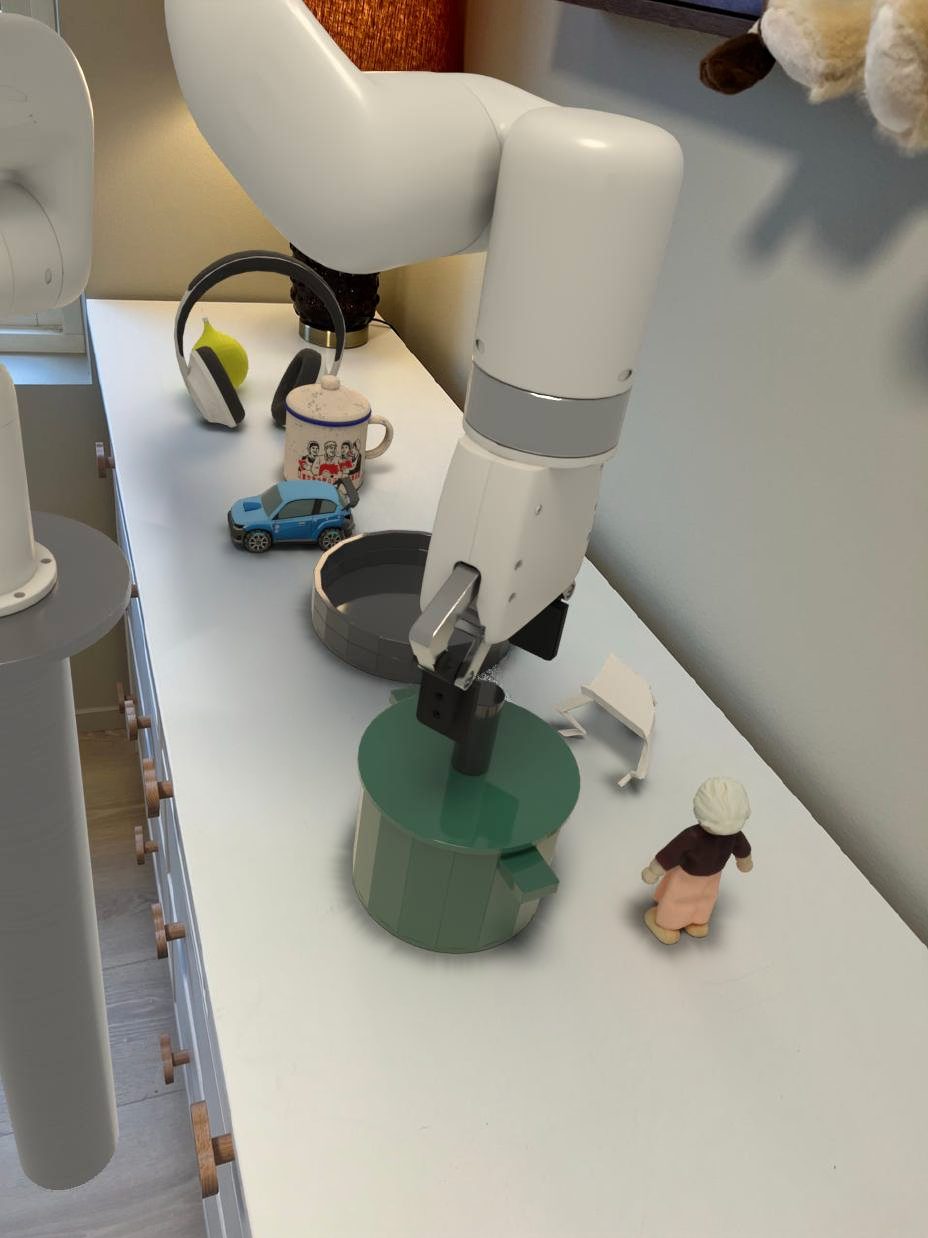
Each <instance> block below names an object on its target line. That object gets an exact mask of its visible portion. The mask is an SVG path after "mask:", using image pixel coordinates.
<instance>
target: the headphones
mask: <svg viewBox="0 0 928 1238" xmlns="http://www.w3.org/2000/svg"><path fill="white" fill-rule="evenodd" d="M253 272H262V273H263V272H264V273H274V274H279V275H282V276H286V277H290V278H291V279H293V280H295V281H298V282H299V283H302V284H303V285H304V286H305V287H307V288H309V289H310V290H311V291H312V292H313V293H314V294H315V295H316V296H317V297H318V298H319V299H320V300H321V301H322V303H323V304H324V306H325V307H326V309H327V311H328V312H329V314H330V317H331V320H332V323H333V326H334V331H335V332H334V333H335V340H336V342H335V354H334V360H333V362H332V366H331V368H330V371H328V368H327V359H326V357H325V356H324V355H323V354H322V353H320V352H318V351H317V350H315V349H314V348H308V347H305V348H302V349H300V350H299V351H298V352H297V353H296V354H295V355H294V357H293V358H292V360H291V361H290V363H288V366H287V368H286V370H285V371H284V373H283V375H282V377H281V378H280V381H279V383H278V385H277V387H276V390H275V393H274V395H273V397H272V402H271V404H270V413H271V416H272V419H274V420H275V422H276V423H278V424H279V425H280V426H282V427H284V428H286V413H287V410H286V408H285V400H286V398H287V396H288V394H289V393H290V392H291V391H292V390H294V389H295V388H298V387H301V386H304V385H311V384H315V383H319V382H321V378H322V377H323V376H325V375H333V376H336V377H337V376H338V373H339V370H340V366H341V363H342V361H343V357H344V352H345V344H346V325H345V319H344V316H343V313H342V309H341V308H340V305H339V303H338V301H337V299H336V298H337V297H336V294H335V292H334V291H333V289H332V288H331V287H330V286H329V284H328V283H327V282H326V280H324V278H323V277H322V276H320V275H319V273H317V272H316V271H315V270H314V269H313V268H311V267H310V266H309V265H308V264H306V263H305V262H303V261H301V260H299V259H297V258H295V257H293V256H291V255H288V254H285V253H283V252H280V251H272V250H266V249H249V250H241V251H238V252H237V251H236V252H233V253H230V254H227V255H225V256H222V257H220V258H219V259H217V260H215V261H213V262H211V264H209V265H208V266H207V267H204V268H203V269H202V270H201V271H199V273H198V274H197V275H196V276H194V278H193V279H192V280H191V281H190V282H189V284H188V287H187V288H186V290H185V292H184V293H183V296H182V297H181V300H180V302H179V304H178V306H177V310H176V314H175V318H174V328H173V329H174V330H173V341H174V349H175V357H176V361H177V364H178V367H179V372H180V374H181V377H182V379H183V382H184V385H185V387H186V389H187V391H188V393H189V394H190V396H191V398H192V400H193V402H194V404H195V405H196V407H197V408H198V410H199V412H200V413H201V414H202V415H203V417H204V418H205V420H207V421H208V422H209V423H217V424H221V425H225V426H227V427H229V428H235V427H237V426H238V425H240V423H242V422H243V420H244V419H245V417H246V411H245V408H244V406H243V404H242V401H241V400H240V397H239V395H238V393H237V392H236V391H237V390H236V389H234V387H233V385H232V382H231V380H230V378H229V376H228V374H227V372H226V371H225V369H224V367H223V365H222V364H221V362H220V360H219V358H218V357H217V355H216V353H215V352H214V351H213V350H212V348H211V347H208V346H202V347H199V348H197V349H195V350H193V351H192V350H191V351H192V352H191V351H190V352H189V359H188V364H187V361H186V358H185V353H184V334H185V329H186V323H187V321H188V319H189V317H190V313H191V312H192V310H193V308H194V306H195V305H196V303H197V302H198V301H199V300H200V299H201V298H202V297H203V296H205V294H206V293H207V292H208V291H209V290H211V289H212V288H213V287H214V286H215V285H217V284H219V283H221V282H223V281H225V280H227V279H228V278H230V277H234V276H238V275H241V274H245V273H253Z"/></svg>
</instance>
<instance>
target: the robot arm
mask: <svg viewBox="0 0 928 1238" xmlns="http://www.w3.org/2000/svg"><path fill="white" fill-rule="evenodd" d="M163 7H164V18H165V28H166V33H167V41H168V43H169V49H170V55H171V58H172V62H173V67H174V71H175V74H176V78H177V82H178V85H179V88H180V92H181V93H182V94H181V95H182V97H183V99H184V100H183V101H184V102H185V105H186V107H187V110H188V112H189V114H190V115H191V118H192V119H193V121H194V124H195V126H196V128H197V129H198V131H199V132H200V134H201V136H202V137H203V138H204V140H205V142H206V144H208V146H209V147H210V149H211V150H212V152H213V153H214V154H215V155H216V157H217V158H218V159H219V161H220V162H221V163H222V164H223V166H224V167H225V168H226V169H227V171H228V172H229V173H230V175H231V176H232V177H233V178H234V180H235V181H236V182H237V183H238V185H239V186H240V187H241V189H242V190H243V192H245V194H246V195H247V196H248V198H249V199H250V200H251V201H252V202H253V203H254V205H255V206H256V207H257V209H258V210H259V212H261V214H262V215H263V216H264V217H265V219H266V220H267V221H268V222H269V223H270V224H271V225H272V226H273V227H274V228H275V230H276V231H277V232H278V233H280V235H282V236H283V237H284V238H285V239H286V240H287V241H288V242H289V243H291V244H292V245H293V246H294V247H295V248H296V249H297V250H299V252H301V253H302V254H304V255H305V256H306V257H308V258H309V259H311V260H314V261H315V262H316V263H319V264H321V265H322V266H324V267H326V268H328V269H331V270H334V271H338V272H342V273H348V274H353V275H369V274H374V273H375V274H376V273H381V272H386V271H390V270H392V269H396V268H400V267H407V266H410V265H414V264H418V263H423V262H426V261H431V260H435V259H438V258H439V259H440V258H446V257H455V256H463V255H471V254H478V253H485V252H486V258H485V264H484V271H483V276H482V277H483V278H482V284H481V290H480V291H481V292H480V298H479V305H478V311H477V319H476V326H475V332H474V339H473V346H472V355H471V360H470V368H469V372H468V373H469V374H468V381H467V388H466V394H465V400H464V408H463V409H464V410H463V414H462V419H461V423H462V429H463V431H464V433H463V434H462V435H461V436H460V437H459V438H458V440H457V443H456V446H455V449H454V451H453V454H452V457H451V460H450V463H449V466H448V469H447V472H446V476H445V478H444V482H443V485H442V489H441V493H440V496H439V499H438V505H437V508H436V512H435V517H434V522H433V526H432V531H431V533H432V535H431V540H430V545H429V550H428V555H427V560H426V566H425V571H424V577H423V583H422V589H421V597H420V607H421V611H422V614H421V615H420V616H419V618H418V619H417V620H416V622H415V623H414V624H413V626H412V628H411V630H410V632H409V640H410V643H411V646H412V650H413V661H414V662H415V663H416V664H418V667H419V668H421V669H423V670H422V677H421V683H419V685H420V691H419V697H418V704H417V711H416V718H417V720H418V721H419V722H420V723H422V724H424V725H425V726H427V727H429V728H431V729H433V730H435V731H437V732H438V733H440V734H442V735H444V736H446V737H448V738H449V739H451V740H453V741H455V742H457V743H459V744H465V743H466V742H467V741H468V740H469V739H470V738H471V734H472V729H473V724H474V718H475V713H476V708H477V702H478V697H479V692H480V687H481V683H480V682H478V681H477V680H478V679H476V677H477V676H478V675H477V673H478V671H479V669H480V667H481V665H482V663H483V661H484V659H485V657H486V655H487V653H488V651H489V649H490V647H491V645H492V644H496V643H499V642H502V641H504V640H506V639H508V641H509V642H510V643H511V645H513V646H515V647H517V648H519V649H520V650H521V649H522V650H523V651H526V652H528V653H530V654H531V655H534V656H536V657H537V658H540V659H542V660H544V661H547V662H551V661H553V660H554V658H556V657H557V656H558V653H559V649H560V645H561V644H560V643H561V642H562V641H561V640H562V636H563V633H564V627H565V624H566V619H567V615H568V610H569V606H570V604H569V603H567V602H568V601H569V600H571V598H572V596H573V595H574V593H575V589H576V586H577V585H576V584H577V583H576V581H575V579H576V578H577V576H578V574H579V573H580V570H581V567H582V565H583V562H584V559H585V555H586V554H587V553H586V552H587V550H588V546H589V541H590V538H591V533H592V529H593V524H594V521H595V518H596V510H597V506H598V501H599V497H600V489H601V483H602V478H603V477H602V476H603V472H604V465H605V463H606V462H608V461H609V460H610V459H612V458H613V457H614V456H615V454H616V453H617V451H618V446H619V441H620V437H621V434H622V430H623V425H624V421H625V417H626V413H627V410H628V405H629V401H630V398H631V393H632V389H633V384H634V381H635V378H636V377H635V376H636V372H637V370H638V369H637V368H638V365H639V361H640V357H641V352H642V349H643V345H644V340H645V337H646V332H647V328H648V324H649V320H650V317H651V313H652V309H653V304H654V301H655V300H654V299H655V297H656V291H657V288H658V283H659V279H660V276H661V272H662V267H663V264H664V260H665V255H666V252H667V247H668V243H669V241H670V240H669V239H670V235H671V231H672V228H673V223H674V219H675V215H676V212H677V207H678V203H679V199H680V195H681V190H682V184H683V181H684V176H685V159H684V157H685V156H684V153H683V149H682V147H681V144H680V143H679V142H678V140H677V139H676V137H675V136H674V135H673V134H671V132H668V131H667V130H666V129H664V128H662V127H660V126H658V125H656V124H654V123H650V122H647V121H644V120H642V119H637V118H634V117H631V116H627V115H622V114H618V113H617V114H616V113H613V112H607V111H602V110H596V109H588V108H582V107H574V106H573V107H572V106H571V107H570V106H561V105H560V104H557V103H554V102H551V101H550V100H547V99H544V98H542V97H540V96H537V95H535V94H533V93H530V92H529V91H527V90H524V89H522V88H520V87H518V86H515V85H513V84H511V83H508V82H506V81H504V80H501V79H498V78H495V77H491V76H487V75H482V74H478V73H470V72H469V73H467V72H433V71H428V70H427V71H421V70H419V71H418V70H417V71H415V70H414V71H408V70H406V71H404V70H403V71H399V70H398V71H394V70H393V71H390V70H389V71H383V70H382V71H380V70H379V71H362V70H361V69H359V68H358V67H357V66H356V65H355V63H353V61H352V60H351V59H350V58H349V57H348V56H347V55H346V54H345V52H344V51H343V50H342V48H340V46H339V45H337V43H336V42H335V40H334V39H333V38H332V37H331V36H330V34H329V33H328V31H327V30H326V29H325V28H324V27H323V25H322V24H321V22H319V20H318V19H317V18H316V16H315V15H314V14H313V12H311V10H310V9H309V8H308V6H307V5H306V4H305V2H304V1H303V0H164V6H163ZM94 178H95V121H94V110H93V104H92V98H91V93H90V89H89V87H88V83H87V80H86V77H85V74H84V71H83V69H82V67H81V65H80V63H79V61H78V59H77V57H76V55H75V54H74V52H73V51H72V49H71V47H70V46H69V45H68V43H67V42H66V41H65V39H64V38H63V37H62V36H60V34H59V33H57V31H56V30H54V29H53V28H52V27H50V26H49V25H47V24H46V23H44V22H43V21H41V20H38V19H37V18H33V17H31V16H27V15H22V14H19V13H13V12H0V322H1V321H6V320H12V319H16V318H21V317H22V318H23V317H26V316H30V315H35V314H41V313H45V312H50V311H53V310H57V309H60V308H63V307H66V306H68V305H71V303H73V302H75V301H76V300H77V299H78V298H79V297H80V296H81V295H82V294H83V292H84V290H85V289H86V286H87V284H88V281H89V279H90V275H91V268H92V260H93V243H94V242H93V241H94V240H93V239H94V238H93V237H94V181H95V179H94ZM22 436H23V435H22V428H21V421H20V411H19V403H18V397H17V391H16V387H15V383H14V380H13V378H12V376H11V373H10V372H9V371H8V369H7V367H6V366H5V365H4V364H3V363H2V361H0V617H2V616H6V615H10V614H13V613H15V612H18V611H21V610H24V609H26V608H27V607H29V606H31V605H33V604H35V603H37V602H38V601H39V600H41V599H42V598H44V597H45V596H46V595H47V594H48V593H49V592H50V591H51V590H52V588H53V586H54V584H55V583H56V580H57V566H56V561H55V558H54V556H53V555H52V553H51V552H50V551H49V550H48V549H47V548H45V547H44V546H43V545H41V544H40V543H37V542H35V541H34V535H33V527H32V519H31V510H32V509H31V503H30V494H29V486H28V479H27V472H26V471H27V470H26V463H25V462H26V461H25V454H24V453H25V452H24V446H23V437H22ZM562 600H563V601H562ZM564 601H565V602H564ZM468 607H470V608H472V609H474V610H476V611H478V615H479V620H480V624H481V625H483V626H484V627H483V628H482V627H480V626H478V625H476V624H474V623H472V622H470V621H468V620H466V619H464V618H461V616H462V615H463V614H464V612H465V611H466V610H467V608H468ZM454 628H455V629H457V630H459V631H461V632H463V633H465V634H467V635H469V636H471V637H473V638H475V639H474V641H473V643H472V645H471V647H470V649H469V651H468V653H467V655H466V657H465V659H464V661H463V662H462V661H461V660H460V659H459V658H457V657H456V656H455V655H454V654H452V653H450V652H448V650H447V647H448V640H449V638H450V636H451V634H452V632H453V630H454Z"/></svg>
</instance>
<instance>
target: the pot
mask: <svg viewBox="0 0 928 1238" xmlns="http://www.w3.org/2000/svg"><path fill="white" fill-rule="evenodd" d="M419 691H420V684H415V685H412V686H406V687H402V688H397V689H391V690H390V692H389V699H388V700H389V703H390V706H391V705H393V704H395V703H397V702H399V701H401V700H404V699H407V698H409V697H412V696H416V695H419ZM357 807H358V808H357V815H356V824H355V833H354V841H353V848H352V880H353V883H354V887H355V888H354V889H355V890H356V893H357V895H358V899H359V901H360V902H361V904H362V905H363V907H364V908H365V910H366V911H367V912H368V914H369V915H370V916H371V918H372V919H374V921H376V923H378V924H379V925H380V926H381V927H382V928H384V929H385V930H386V931H387V932H389V933H390V934H392V935H393V936H395V937H396V938H398V939H400V940H402V941H403V942H405V943H408V944H411V945H412V946H415V947H418V948H421V949H424V950H429V951H434V952H437V953H446V954H469V953H475V952H481V951H484V950H488V949H492V948H494V947H497V946H500V945H502V944H504V943H505V942H507V941H508V940H511V939H512V938H514V937H515V936H516V935H517V934H519V933H520V932H521V931H523V929H524V928H525V927H526V926H527V925H528V923H530V921H531V919H532V918H533V916H534V915H535V914H536V912H537V909H538V907H539V903H540V899H541V898H545V897H547V896H550V895H554V894H556V893H557V891H558V888H559V886H560V882H561V881H560V880H559V878H558V877H557V875H556V873H555V872H554V871H553V869H552V868H551V864H552V860H553V858H554V854H555V851H556V847H557V844H558V840H559V837H560V834H561V829H562V828H561V829H560V830H559V831H558V832H556V833H555V834H554V835H552V836H551V837H550V838H548V839H546V840H544V841H543V842H541V843H539V844H537V845H534V846H532V847H529V848H526V849H523V850H519V851H515V852H511V853H503V854H494V855H477V854H466V853H459V852H454V851H449V850H445V849H442V848H438V847H435V846H432V845H429V844H427V843H425V842H422V841H420V840H417V839H416V838H414V837H412V836H410V835H408V834H406V833H404V832H403V831H401V830H400V829H399V828H397V827H396V826H394V825H393V824H391V823H390V822H389V821H388V820H387V819H386V818H385V817H383V816H382V815H381V814H380V812H379V811H378V810H377V809H376V808H375V807H374V806H373V804H372V803H371V801H370V800H369V798H368V797H367V795H366V793H365V791H364V789H363V787H362V785H361V784H360V791H359V800H358V806H357Z"/></svg>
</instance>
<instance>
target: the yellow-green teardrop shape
mask: <svg viewBox="0 0 928 1238" xmlns="http://www.w3.org/2000/svg"><path fill="white" fill-rule="evenodd" d="M201 311H204V310H203V308H202V306H201ZM202 321H203V331H202V334H201V336H199V338H198V339H197V341H196V342H195V343H194V345H193V347H192V349H191V351H190V353H191V352H192V351H193V350H195V349H197V348H199V347H202V346H208V347H211V348H212V350H213V351H214V352H215V353H216V355H217V357H218V358H219V360H220V362H221V364H222V365H223V367H224V369H225V371H226V372H227V374H228V376H229V378H230V380H231V382H232V385H233V387H234V389H235V390H236V389H237V388H239V387H240V386H241V385H242V384H243V383H244V382H245V380H246V378H247V376H248V371H249V358H248V357H249V356H248V355H247V351H246V350H245V348H244V346H243V345H242V344H241V343H240V342H239V341H238V340H236V339H235V338H234V337H232V336H230V335H228V334H226V333H223V332H222V331H221V332H220V331H218V330H217V329H215V328H214V327H213V325H211V323H210V321H209V318H208V317H205V316H204V317H202Z"/></svg>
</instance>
